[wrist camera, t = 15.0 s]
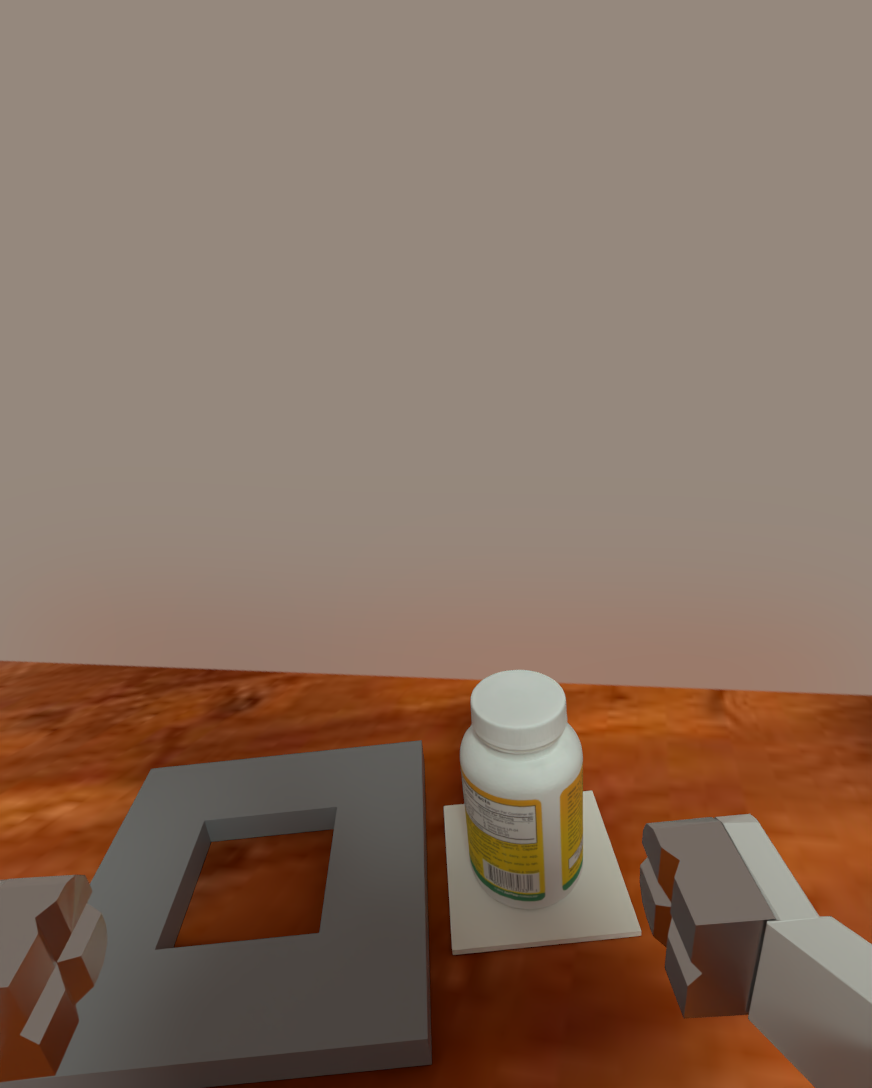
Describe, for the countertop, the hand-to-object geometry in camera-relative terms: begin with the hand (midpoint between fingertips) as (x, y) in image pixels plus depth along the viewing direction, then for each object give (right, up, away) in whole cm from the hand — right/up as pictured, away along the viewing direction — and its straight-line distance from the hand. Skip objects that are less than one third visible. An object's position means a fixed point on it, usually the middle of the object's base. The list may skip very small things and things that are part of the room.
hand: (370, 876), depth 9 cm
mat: (+6, -11, +21) cm, 24 cm away
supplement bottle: (+5, -10, +21) cm, 24 cm away
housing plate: (-7, -12, +21) cm, 26 cm away
